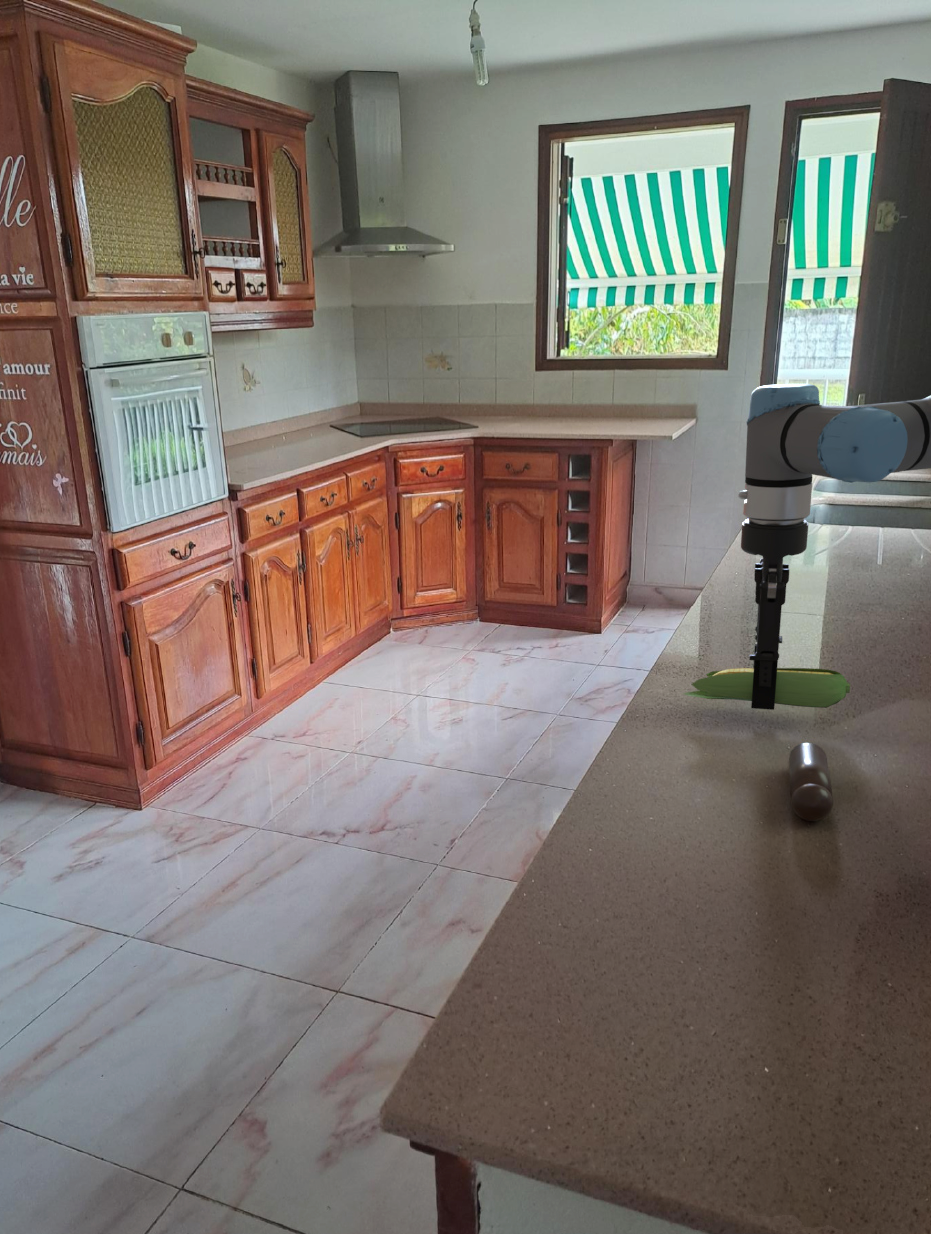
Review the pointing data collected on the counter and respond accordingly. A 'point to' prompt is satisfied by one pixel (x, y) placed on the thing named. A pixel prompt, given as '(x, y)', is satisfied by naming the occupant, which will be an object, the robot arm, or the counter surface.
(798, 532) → the robot arm
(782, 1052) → the counter surface
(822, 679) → the edible corn
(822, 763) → the dark brown capsule
